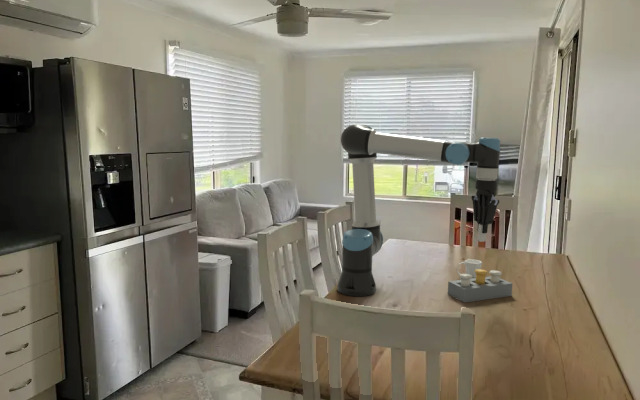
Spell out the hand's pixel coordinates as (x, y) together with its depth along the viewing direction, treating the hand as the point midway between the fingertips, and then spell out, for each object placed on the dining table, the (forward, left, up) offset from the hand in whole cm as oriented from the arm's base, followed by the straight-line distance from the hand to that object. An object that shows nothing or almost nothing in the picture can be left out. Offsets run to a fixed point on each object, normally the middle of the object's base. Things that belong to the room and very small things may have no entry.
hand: (481, 241), depth 177 cm
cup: (+9, +18, -21) cm, 29 cm away
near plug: (-7, 0, -19) cm, 21 cm away
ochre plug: (0, 0, -18) cm, 18 cm away
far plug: (+7, 0, -19) cm, 21 cm away
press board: (0, 0, -21) cm, 21 cm away
